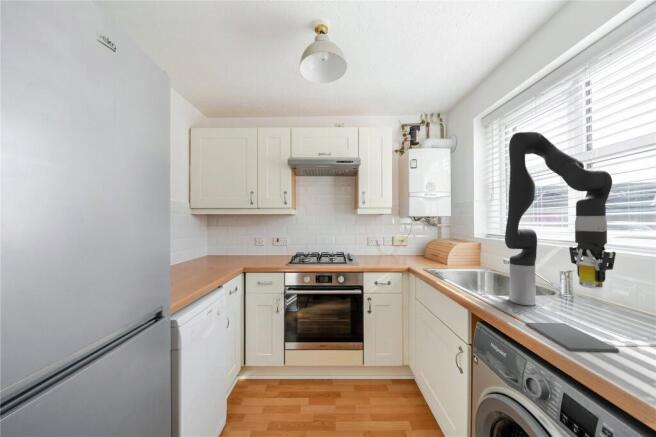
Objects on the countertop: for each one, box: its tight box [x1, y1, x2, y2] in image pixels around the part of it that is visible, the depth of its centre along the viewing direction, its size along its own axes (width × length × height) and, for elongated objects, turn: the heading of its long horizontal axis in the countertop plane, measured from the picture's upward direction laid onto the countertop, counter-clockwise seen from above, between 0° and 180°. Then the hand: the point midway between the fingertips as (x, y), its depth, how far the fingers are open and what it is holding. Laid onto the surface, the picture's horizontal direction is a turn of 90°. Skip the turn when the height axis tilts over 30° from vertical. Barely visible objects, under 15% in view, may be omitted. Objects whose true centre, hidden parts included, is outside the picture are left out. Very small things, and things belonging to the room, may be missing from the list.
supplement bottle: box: [578, 256, 604, 290], centre depth 86 cm, size 6×6×10 cm
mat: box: [525, 322, 620, 353], centre depth 82 cm, size 18×13×1 cm
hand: (590, 279), depth 86 cm, fingers closed on supplement bottle, 5 cm apart
